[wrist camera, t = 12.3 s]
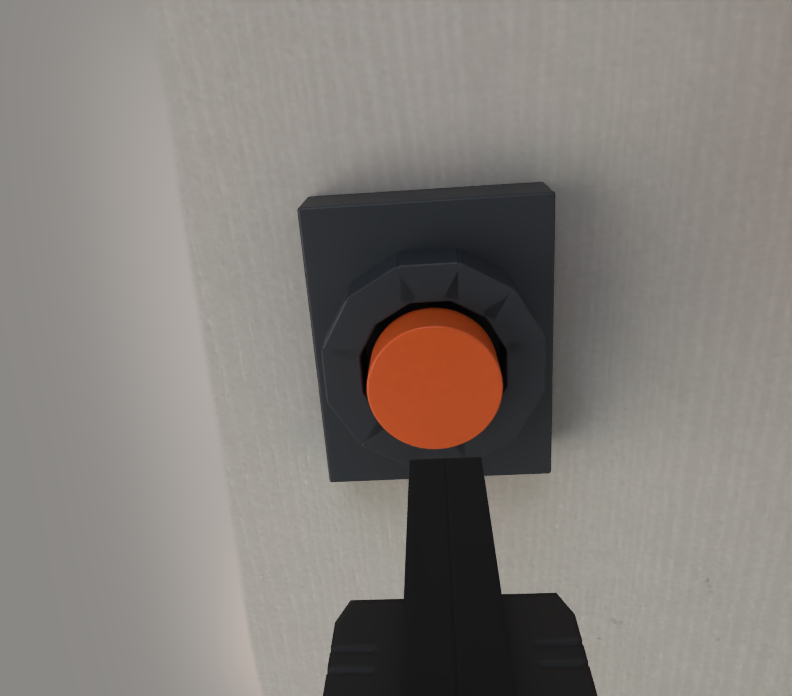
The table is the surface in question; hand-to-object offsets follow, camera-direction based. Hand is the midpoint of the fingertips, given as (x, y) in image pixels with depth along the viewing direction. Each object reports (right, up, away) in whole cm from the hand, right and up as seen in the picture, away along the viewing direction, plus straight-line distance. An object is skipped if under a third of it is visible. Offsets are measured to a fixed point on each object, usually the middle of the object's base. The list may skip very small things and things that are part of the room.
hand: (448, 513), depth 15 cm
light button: (0, +3, +7) cm, 8 cm away
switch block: (0, +4, +10) cm, 11 cm away
